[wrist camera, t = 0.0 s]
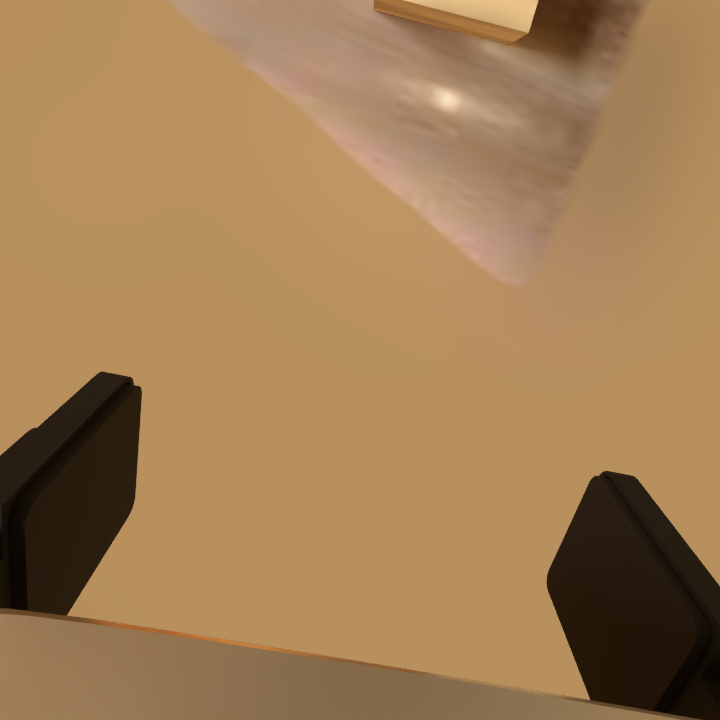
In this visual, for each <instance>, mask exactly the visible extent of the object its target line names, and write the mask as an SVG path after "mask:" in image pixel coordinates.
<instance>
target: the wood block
mask: <svg viewBox="0 0 720 720" xmlns="http://www.w3.org/2000/svg"><path fill="white" fill-rule="evenodd" d="M537 3H538V0H374V10H375V11H379V12H383V13H387V14H391V15H395V16H398V17H402V18H406V19H410V20H414V21H418V22H422V23H426V24H429V25H433V26H437V27H441V28H445V29H449V30H453V31H457V32H460V33H464V34H468V35H472V36H476V37H480V38H484V39H488V40H491V41H495V42H499V43H503V44H507V45H510V44H511V43H513V42H515V41H516V40H518V39H519V38H521V37H523V36H524V35H526V34H528V33H529V30H530V27H531V23H532V20H533V17H534V13H535V10H536V7H537Z"/></svg>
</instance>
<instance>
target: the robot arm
mask: <svg viewBox="0 0 720 720" xmlns="http://www.w3.org/2000/svg"><path fill="white" fill-rule="evenodd" d="M141 397H142V391H141V387H140V386H135V385H134V383H133V379H132V378H131V377H127V376H122V375H117V374H112V373H106V372H100V373H98V374H97V375H96V376H95V377H93V378H92V379H91V380H90V381H89V382H88V383H87V384H86V385H85V386H83V387H82V388H81V389H80V390H79V391H78V392H77V393H76V394H74V395H73V396H72V397H71V398H70V399H69V400H68V401H67V402H65V404H63V405H62V406H61V407H60V408H59V409H58V410H57V411H56V412H54V413H53V414H52V415H51V416H50V417H49V418H48V419H47V420H45V421H44V422H43V423H42V424H41V425H40V426H39V427H38V428H33V429H31V430H30V431H28V432H27V433H26V434H24V436H22V437H21V438H20V439H19V440H18V441H17V442H15V443H14V444H13V445H12V446H11V447H10V448H9V449H7V451H5V452H4V453H3V454H2V455H1V456H0V720H720V586H719V585H718V583H717V582H716V581H715V579H714V578H713V577H712V576H711V574H710V573H709V572H708V570H707V569H706V568H705V566H704V565H703V564H702V563H701V561H700V560H699V559H698V557H697V556H696V555H695V553H694V552H693V551H692V550H691V548H690V547H689V546H688V544H687V543H686V542H685V540H684V539H683V538H682V537H681V535H680V534H679V533H678V531H677V530H676V529H675V527H674V526H673V525H672V524H671V522H670V521H669V520H668V518H667V517H666V516H665V515H664V513H663V512H662V511H661V509H660V508H659V507H658V505H657V504H656V503H655V501H654V500H653V499H652V498H651V496H650V495H649V494H648V492H647V491H646V490H645V488H644V487H643V486H642V485H641V483H640V482H639V481H638V479H637V478H635V477H634V476H630V475H625V474H620V473H615V472H610V471H605V472H602V473H601V474H600V476H595V477H593V478H592V479H591V481H590V482H589V484H588V487H587V489H586V491H585V493H584V495H583V498H582V500H581V502H580V504H579V506H578V508H577V510H576V513H575V515H574V517H573V519H572V521H571V523H570V526H569V528H568V530H567V532H566V534H565V536H564V539H563V541H562V543H561V545H560V547H559V549H558V552H557V554H556V556H555V558H554V560H553V562H552V565H551V567H550V569H549V571H548V575H547V588H548V592H549V594H550V597H551V599H552V602H553V605H554V607H555V610H556V612H557V615H558V617H559V620H560V623H561V625H562V628H563V630H564V633H565V635H566V638H567V641H568V643H569V646H570V648H571V651H572V653H573V656H574V658H575V661H576V663H577V666H578V669H579V672H580V674H581V676H582V679H583V682H584V684H585V687H586V689H587V692H588V695H589V697H590V700H586V699H580V698H575V697H569V696H563V695H557V694H551V693H546V692H539V691H534V690H527V689H522V688H517V687H510V686H504V685H499V684H493V683H487V682H481V681H475V680H469V679H463V678H457V677H451V676H445V675H439V674H433V673H427V672H421V671H415V670H409V669H403V668H397V667H391V666H385V665H378V664H373V663H367V662H361V661H355V660H348V659H342V658H336V657H330V656H323V655H318V654H311V653H306V652H299V651H293V650H287V649H281V648H274V647H267V646H262V645H256V644H249V643H243V642H236V641H230V640H224V639H218V638H212V637H205V636H199V635H193V634H187V633H180V632H174V631H168V630H161V629H155V628H149V627H142V626H136V625H129V624H123V623H116V622H110V621H103V620H97V619H89V618H81V617H73V616H67V614H68V613H69V611H70V609H71V608H72V606H73V604H74V603H75V601H76V600H77V598H78V597H79V595H80V593H81V592H82V590H83V589H84V587H85V585H86V583H87V582H88V580H89V579H90V577H91V576H92V574H93V572H94V571H95V569H96V567H97V566H98V564H99V563H100V561H101V559H102V558H103V556H104V554H105V553H106V552H107V550H108V548H109V547H110V545H111V544H112V542H113V540H114V539H115V537H116V536H117V534H118V532H119V531H120V529H121V528H122V526H123V524H124V523H125V521H126V519H127V518H128V516H129V514H130V512H131V510H132V507H133V504H134V500H135V491H136V490H135V489H136V475H137V459H138V444H139V429H140V413H141Z"/></svg>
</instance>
